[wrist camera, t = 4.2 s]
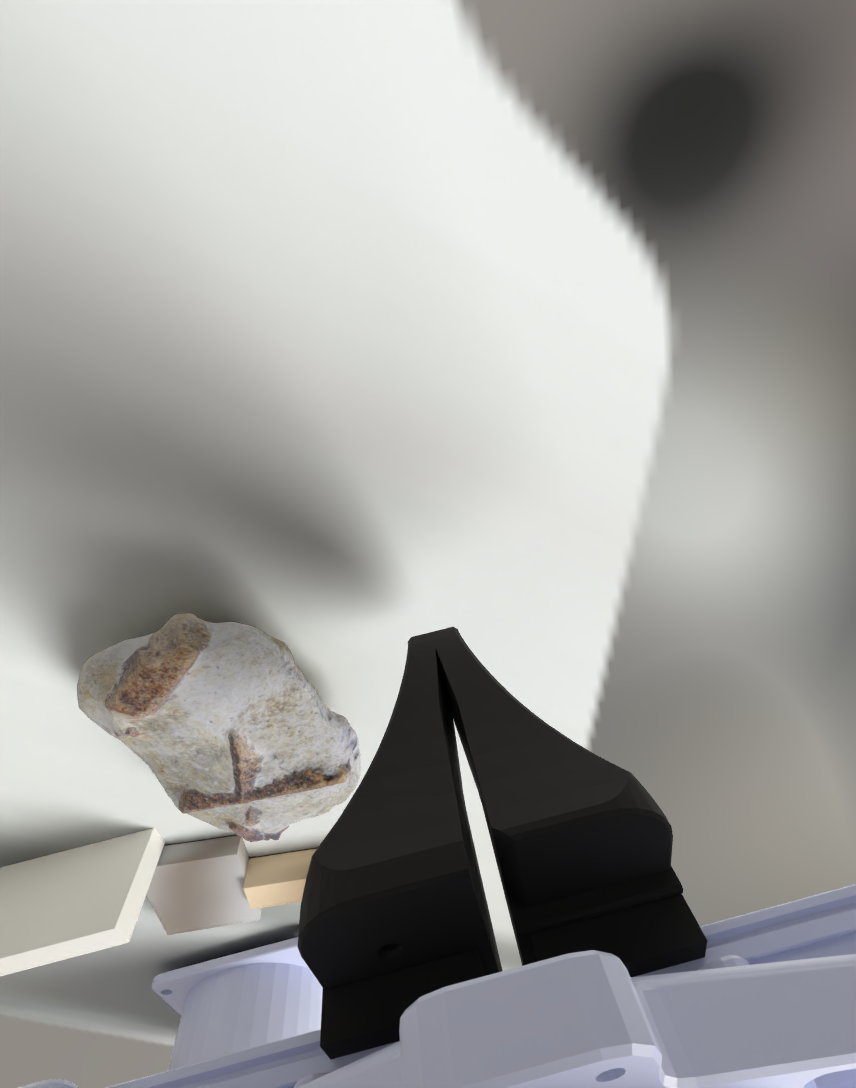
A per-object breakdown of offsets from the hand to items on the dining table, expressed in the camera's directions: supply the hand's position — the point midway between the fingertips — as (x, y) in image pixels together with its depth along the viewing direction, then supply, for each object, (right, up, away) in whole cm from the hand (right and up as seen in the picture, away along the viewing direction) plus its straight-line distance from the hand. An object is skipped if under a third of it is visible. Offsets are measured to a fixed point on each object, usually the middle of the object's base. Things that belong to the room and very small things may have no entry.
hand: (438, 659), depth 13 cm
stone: (-5, +1, +2) cm, 6 cm away
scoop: (-6, -11, +8) cm, 15 cm away
